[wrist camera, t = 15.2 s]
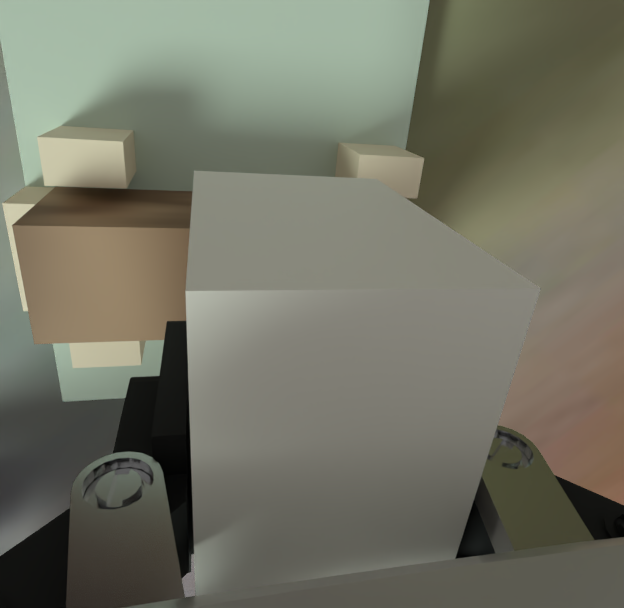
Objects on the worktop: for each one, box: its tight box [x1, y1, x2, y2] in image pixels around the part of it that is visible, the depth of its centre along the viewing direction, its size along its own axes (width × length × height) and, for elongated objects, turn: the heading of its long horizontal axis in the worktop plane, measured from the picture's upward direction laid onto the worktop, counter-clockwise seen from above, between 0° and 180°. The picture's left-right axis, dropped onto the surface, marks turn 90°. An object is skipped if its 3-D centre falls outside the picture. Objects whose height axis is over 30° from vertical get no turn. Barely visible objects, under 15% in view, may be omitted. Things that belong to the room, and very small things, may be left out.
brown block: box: [12, 187, 193, 344], centre depth 19 cm, size 13×4×5 cm, turn 84°
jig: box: [0, 0, 430, 402], centre depth 18 cm, size 15×24×4 cm, turn 174°
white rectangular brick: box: [185, 171, 541, 596], centre depth 10 cm, size 4×9×6 cm, turn 174°
